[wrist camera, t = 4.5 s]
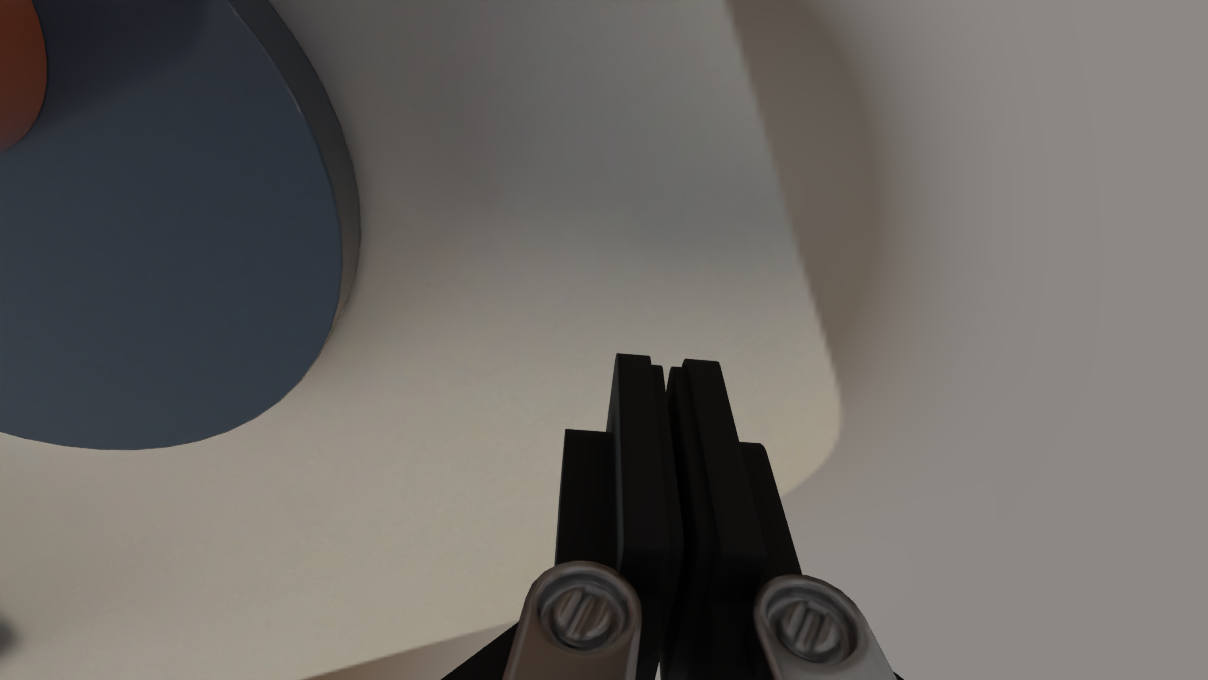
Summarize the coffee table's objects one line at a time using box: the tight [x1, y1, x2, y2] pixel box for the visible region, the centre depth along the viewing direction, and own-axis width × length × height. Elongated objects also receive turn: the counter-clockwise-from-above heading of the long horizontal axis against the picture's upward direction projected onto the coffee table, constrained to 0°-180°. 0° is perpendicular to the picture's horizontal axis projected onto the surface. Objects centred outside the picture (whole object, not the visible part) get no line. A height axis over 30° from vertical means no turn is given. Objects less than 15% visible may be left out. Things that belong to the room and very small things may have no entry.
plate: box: [0, 0, 360, 450], centre depth 16 cm, size 15×15×2 cm
